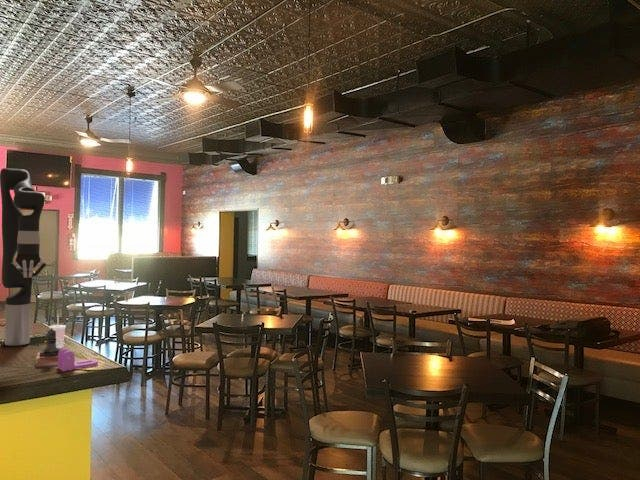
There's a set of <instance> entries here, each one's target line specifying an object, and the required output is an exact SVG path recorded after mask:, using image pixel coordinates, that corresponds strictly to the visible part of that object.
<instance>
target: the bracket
mask: <svg viewBox="0 0 640 480" xmlns="http://www.w3.org/2000/svg"><path fill="white" fill-rule="evenodd" d="M75 359H76V358H75V353H74V352H73V351H72V350H69V349H68V348H64V347H63V348H60V350H59V353H58V365H57V369H59V370H61V371H62V372H67V370H69V371H73V370H72V369H75V370H78V369H77V368H81V369H84V368H83V367H87V368H89V367H88V366H93V367H95V366H94V365H97V364H98V365H99V361H98V360H97V359H87V360H86V359H84V360H80V361H79V360H78V361H76V360H75ZM98 365H97V366H98Z"/></svg>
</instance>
